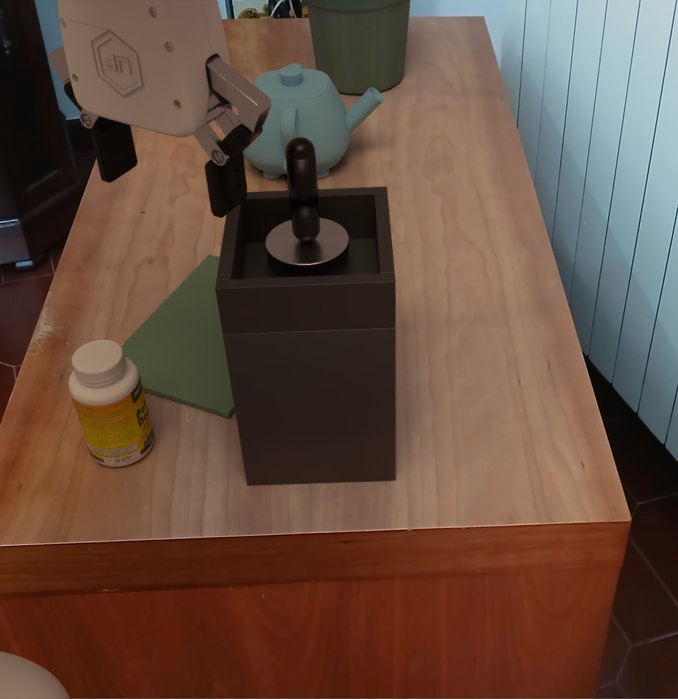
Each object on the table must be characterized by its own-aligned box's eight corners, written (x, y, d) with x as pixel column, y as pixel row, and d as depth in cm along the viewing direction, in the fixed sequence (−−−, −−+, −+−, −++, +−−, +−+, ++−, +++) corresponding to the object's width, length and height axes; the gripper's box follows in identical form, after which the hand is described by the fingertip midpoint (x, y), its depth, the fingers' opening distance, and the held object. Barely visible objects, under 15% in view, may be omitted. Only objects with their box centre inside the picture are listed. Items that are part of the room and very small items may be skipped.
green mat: (228, 418, 80) (228, 413, 80) (97, 376, 85) (96, 371, 84) (328, 288, 93) (327, 283, 93) (209, 258, 98) (209, 254, 98)
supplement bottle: (158, 463, 76) (134, 372, 70) (90, 476, 76) (60, 385, 69) (153, 416, 81) (131, 327, 74) (89, 428, 80) (60, 339, 73)
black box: (395, 480, 74) (395, 281, 61) (247, 485, 74) (214, 288, 61) (388, 378, 83) (387, 186, 70) (255, 383, 83) (229, 192, 70)
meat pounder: (329, 312, 65) (320, 168, 57) (254, 292, 67) (237, 151, 60) (363, 265, 69) (359, 125, 62) (292, 248, 71) (280, 111, 64)
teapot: (212, 198, 107) (198, 104, 99) (229, 130, 120) (218, 41, 112) (384, 195, 106) (384, 100, 98) (383, 126, 119) (383, 37, 111)
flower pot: (284, 67, 133) (274, -48, 123) (385, 43, 138) (384, -69, 128) (331, 113, 122) (325, -9, 111) (439, 86, 127) (443, -34, 116)
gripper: (-29, -72, 54) (44, 185, 65) (207, -31, 46) (243, 251, 58) (62, -105, 58) (116, 140, 70) (289, -73, 51) (308, 195, 62)
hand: (173, 190), depth 64 cm, fingers open, 9 cm apart
